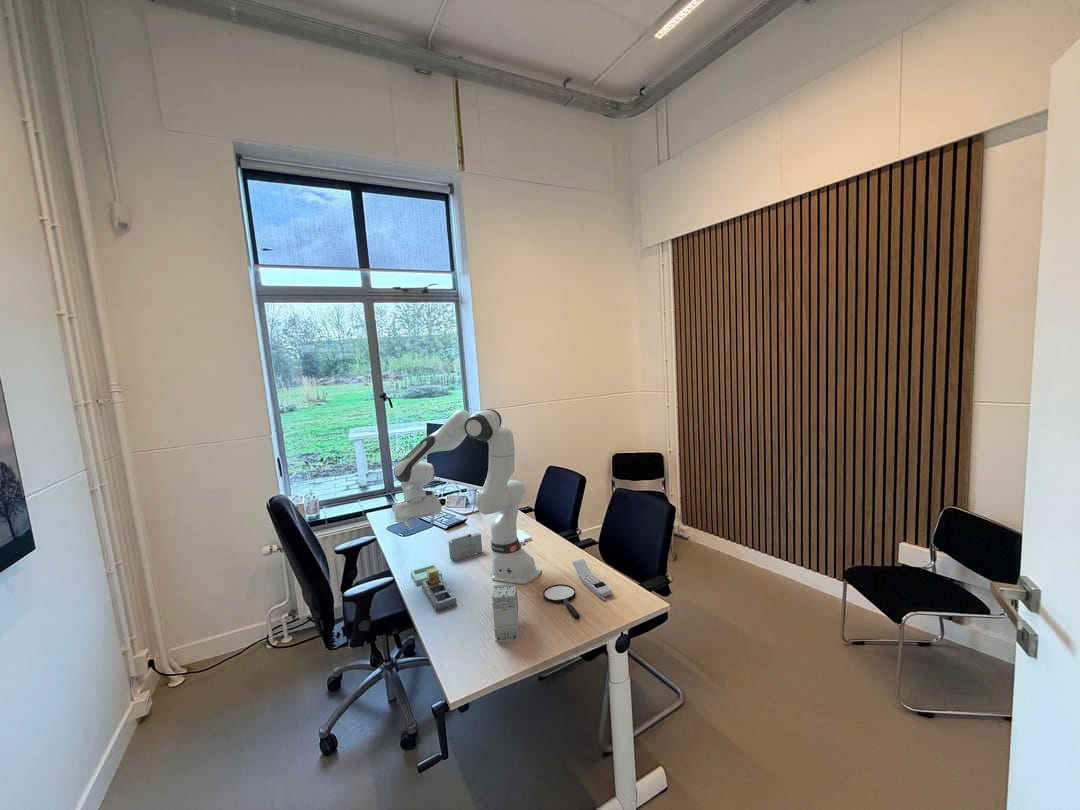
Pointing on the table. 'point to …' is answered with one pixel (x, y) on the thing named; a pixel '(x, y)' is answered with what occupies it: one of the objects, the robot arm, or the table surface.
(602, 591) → the mobile phone
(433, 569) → the brass plug
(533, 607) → the table surface
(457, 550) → the cassette player
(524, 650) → the table surface
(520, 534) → the mounting plate
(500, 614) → the circuit breaker
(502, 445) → the robot arm
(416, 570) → the parts tray
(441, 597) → the socket block
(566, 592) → the magnifying glass
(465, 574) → the table surface
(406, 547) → the table surface
